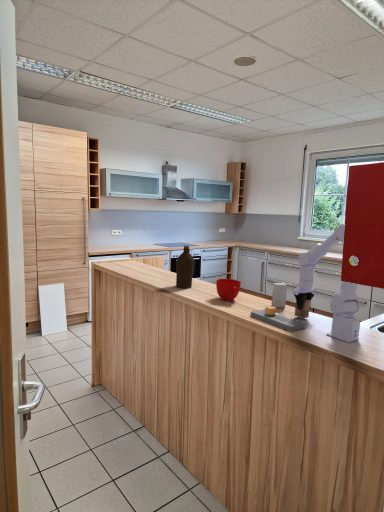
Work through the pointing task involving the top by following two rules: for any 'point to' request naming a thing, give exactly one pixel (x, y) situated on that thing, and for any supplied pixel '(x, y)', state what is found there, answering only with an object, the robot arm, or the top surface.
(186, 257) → the olive oil
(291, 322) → the switch board
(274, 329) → the top surface
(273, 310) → the switch tab
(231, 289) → the ceramic cup
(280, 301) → the skincare box
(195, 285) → the top surface
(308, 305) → the walnut pusher
